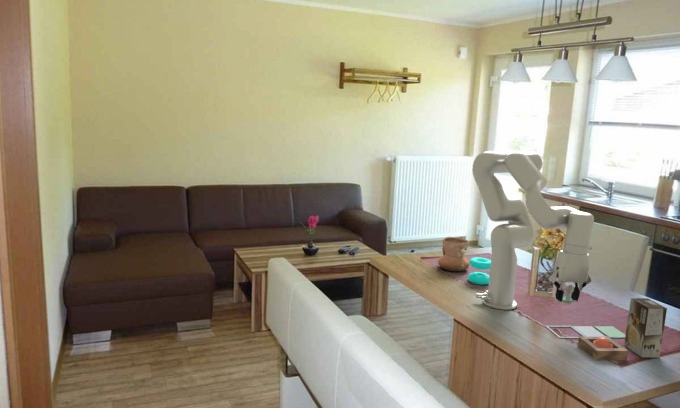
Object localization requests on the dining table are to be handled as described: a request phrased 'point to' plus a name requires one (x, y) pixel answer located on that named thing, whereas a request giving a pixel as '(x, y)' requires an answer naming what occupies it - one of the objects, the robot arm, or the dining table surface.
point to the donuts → (479, 276)
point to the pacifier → (567, 296)
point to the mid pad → (589, 331)
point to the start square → (564, 326)
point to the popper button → (602, 343)
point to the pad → (610, 331)
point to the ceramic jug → (454, 254)
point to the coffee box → (645, 327)
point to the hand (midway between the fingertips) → (566, 299)
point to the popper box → (602, 349)
